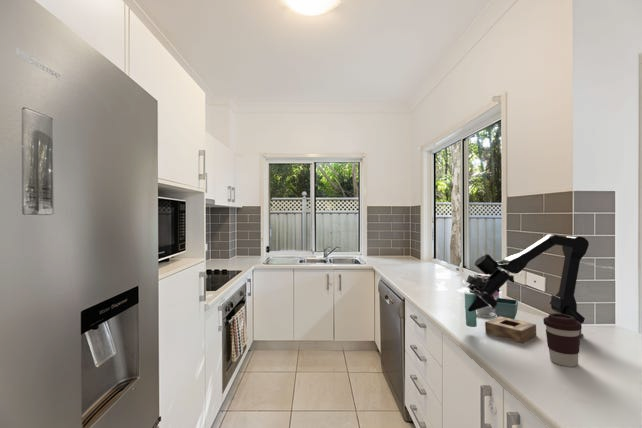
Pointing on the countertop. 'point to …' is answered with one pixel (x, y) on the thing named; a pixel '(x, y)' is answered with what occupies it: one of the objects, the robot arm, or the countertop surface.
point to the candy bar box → (483, 276)
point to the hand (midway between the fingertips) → (467, 309)
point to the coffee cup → (563, 338)
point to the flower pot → (506, 308)
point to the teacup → (485, 311)
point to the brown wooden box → (511, 329)
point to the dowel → (471, 315)
